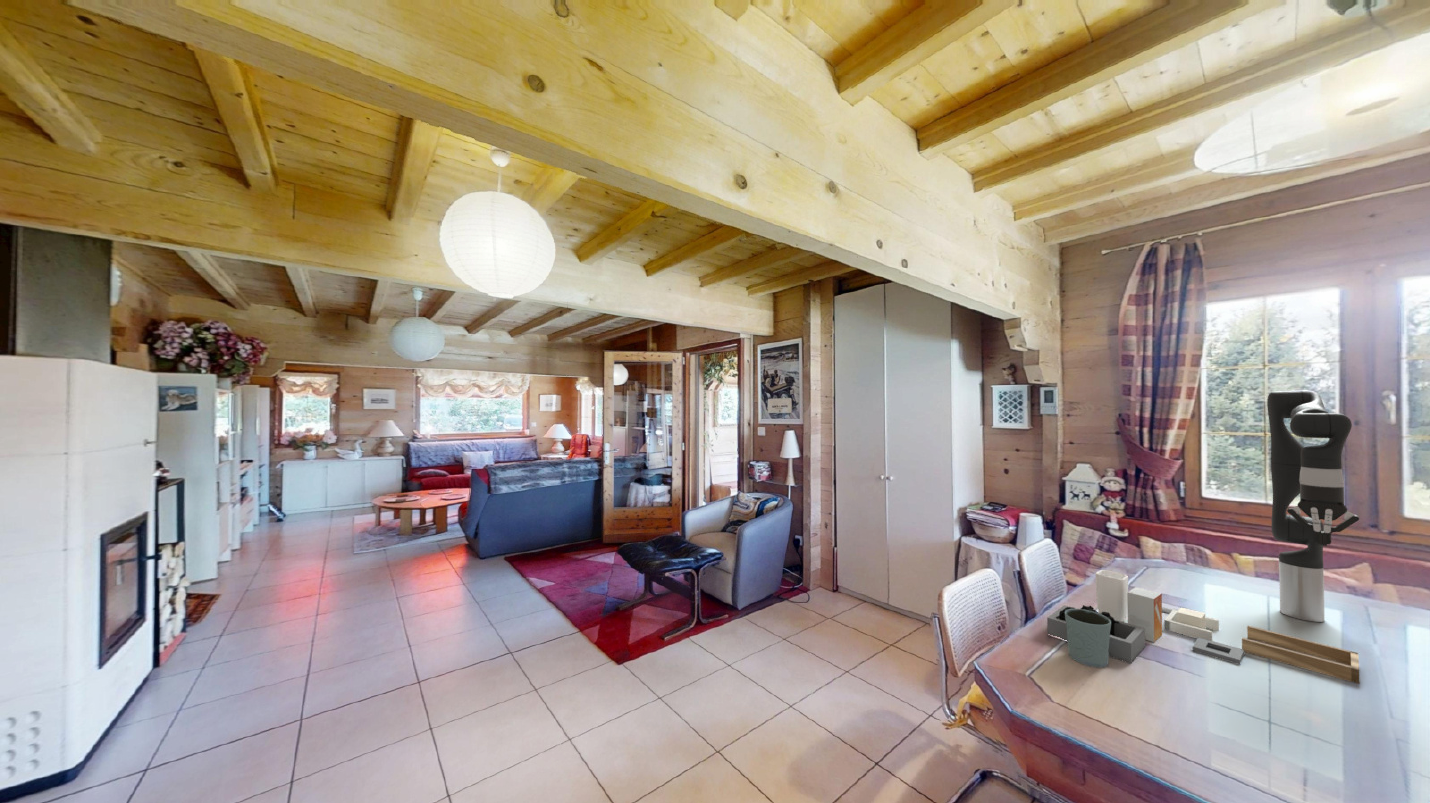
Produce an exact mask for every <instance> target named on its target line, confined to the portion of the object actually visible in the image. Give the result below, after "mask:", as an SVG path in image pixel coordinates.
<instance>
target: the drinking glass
mask: <svg viewBox="0 0 1430 803" xmlns="http://www.w3.org/2000/svg"><path fill="white" fill-rule="evenodd" d="M1065 620H1066V625H1067V626H1066V627H1067V640H1068V642H1067V649H1068V655H1069V657H1070V658H1071V659H1072V660H1074V661H1075V662H1078V663H1079V664H1081V665H1085V666H1087V665H1088V666H1087V667H1091V666H1093V667H1092V668H1099V667H1102V668H1105V666H1106V667H1108V665H1109V657H1110V656H1109V653H1108V648H1109V639H1110V629H1111V620H1110V619H1109V618H1107V617H1106V616H1104V615H1102V614H1099V612H1098V613H1096V612H1093V611H1089V610H1084V609H1081V608H1076V609H1068V610H1066V611H1065Z"/></svg>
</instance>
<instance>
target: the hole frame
mask: <svg viewBox="0 0 1430 803" xmlns="http://www.w3.org/2000/svg"><path fill="white" fill-rule="evenodd" d="M1192 651H1193V652H1196V653H1198V654H1199V653H1200V654H1203V655H1206V656H1209V657H1212V658H1216V659H1219V660H1224V661H1226V662H1230V663H1233V664H1235V665H1241V662H1242V660H1243V658H1244V656H1245V652H1244V650H1243V649H1242V648H1239V647H1236V646H1232V645H1228V644H1224V643H1221V642H1219V641H1214V640H1212V641H1211V640H1207V639H1204V638H1200V637H1198V639H1197V638H1196V641H1195V643H1193V645H1192Z"/></svg>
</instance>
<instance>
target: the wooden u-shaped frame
mask: <svg viewBox="0 0 1430 803" xmlns="http://www.w3.org/2000/svg"><path fill="white" fill-rule="evenodd" d="M1246 630H1247V632H1246V633H1247V635H1246V636H1247V638H1245V637H1242V638H1241V644H1242V645H1241V647H1242V648H1241V649H1243V650H1244V653H1247V654H1251V655H1254V656H1257V657H1262V658H1265V659H1268V660H1269V659H1270V660H1272V661H1276V662H1280V663H1284V664H1287V665H1289V666H1294V667H1298V668H1301V669H1305V670H1308V671H1312V672H1315V673H1320V674H1323V675H1326V676H1330V677H1334V678H1337V679H1340V680H1343V681H1348V682H1351V683H1354V684H1355V683H1356V684H1358V685H1360V683H1361V682H1360V660H1359V652H1356V651H1351V650H1349V649H1343V648H1340V647H1335V646H1331V645H1329V644H1324V643H1320V642H1315V641H1312V640H1311V641H1310V640H1308V639H1303V638H1299V637H1294V636H1292V635H1288V634H1283V633H1279V632H1275V631H1271V630H1267V629H1262V628H1260V627H1255V626H1250V625H1247V626H1246Z"/></svg>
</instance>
